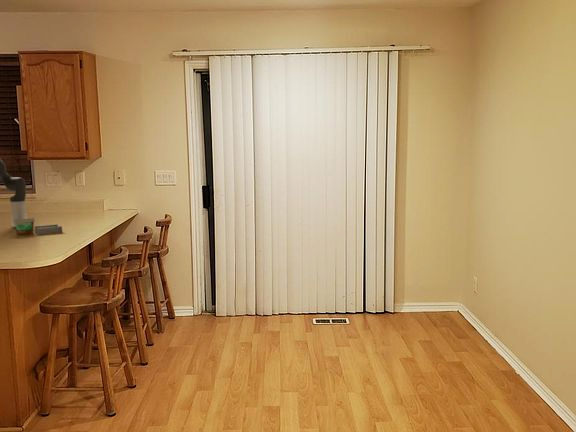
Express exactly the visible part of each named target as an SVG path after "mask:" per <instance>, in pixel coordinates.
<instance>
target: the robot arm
mask: <svg viewBox="0 0 576 432" xmlns="http://www.w3.org/2000/svg"><path fill="white" fill-rule="evenodd" d="M0 182H1V183H2V184H3V185H4V187H5V188H6V189H7V190H9V191H11V192H15V194H14V195H12V196H10V198H9V202H10V204H9V205H10V216H11V217H10V219H11V228H16V226H15V222H14V218H15V219H27V210H26V209H27V208H26V207H27V206H26V196H27V194H26V193H27V192H26V191H27V190H26V189H27V185H26V184H27V183H26V181H25V179H24V178H23V177H20V176H19V177H18V176H17V177H15V176H14V177H13V176H11V175H10V174H9V173H8V172H7V166H6V164H5V162H3V160H2V159H1V158H0Z"/></svg>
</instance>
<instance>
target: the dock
mask: <svg viewBox="0 0 576 432" xmlns="http://www.w3.org/2000/svg"><path fill="white" fill-rule="evenodd" d="M35 232H37V233H36V235H37V236H42V235H41V234H43V235H52V234H53V233H55V234H62V233H63V227H62V225H61V224H58V223H57V224H56V223H55V224H46V225H45V224H44V225H34V233H35Z"/></svg>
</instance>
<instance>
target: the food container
mask: <svg viewBox="0 0 576 432" xmlns="http://www.w3.org/2000/svg"><path fill="white" fill-rule="evenodd" d="M35 221H36V220H35V218H34V217H32V218H26V219H15V218H14V222H15V226H16V227H15V231H16V235H17V236H28V235H33V234H34V227H35V225H34V222H35Z"/></svg>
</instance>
